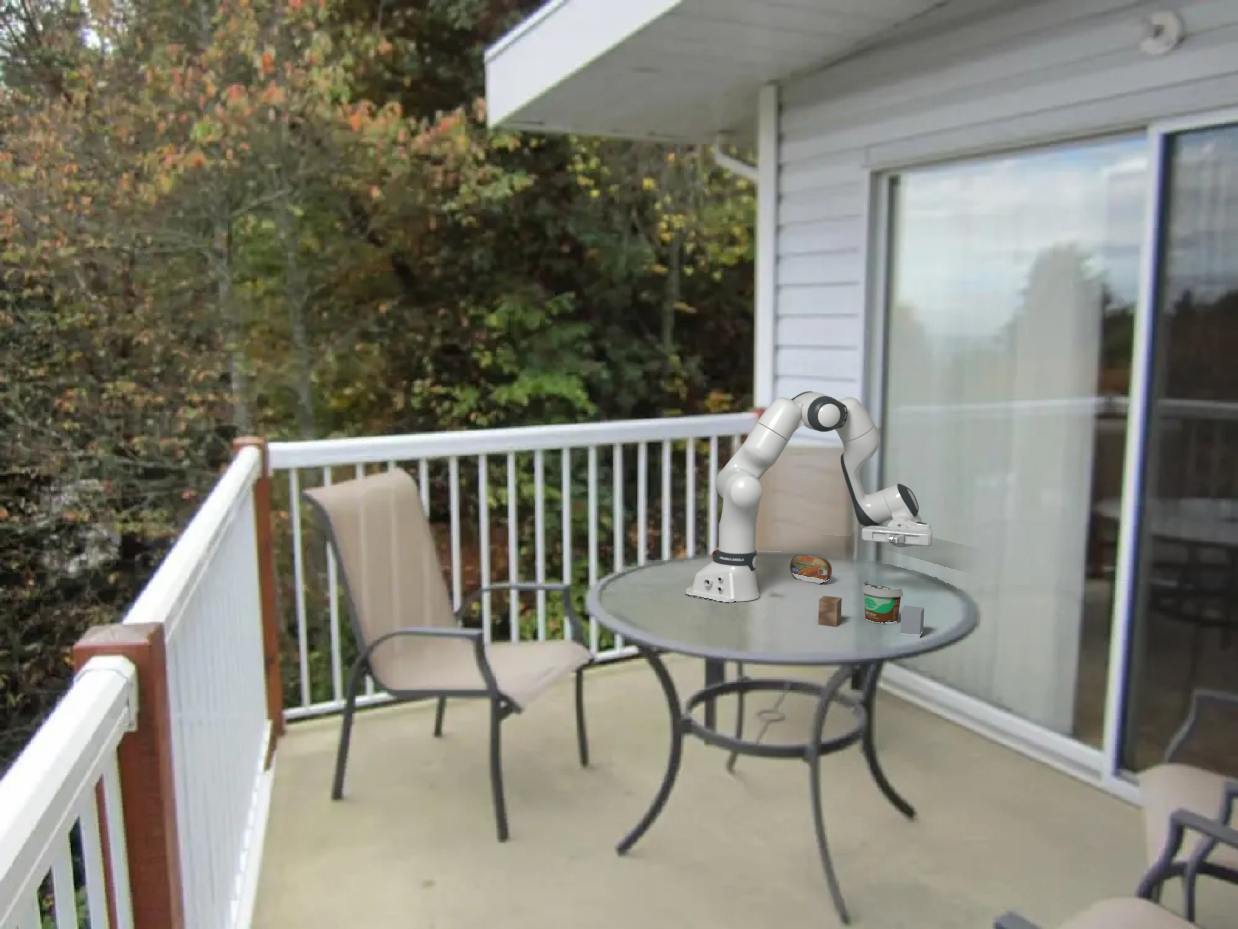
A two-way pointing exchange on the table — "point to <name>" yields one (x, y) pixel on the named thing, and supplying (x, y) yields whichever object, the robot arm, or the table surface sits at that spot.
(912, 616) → the slate block
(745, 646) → the table surface
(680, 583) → the table surface
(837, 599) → the walnut block
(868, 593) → the food container
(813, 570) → the tin
